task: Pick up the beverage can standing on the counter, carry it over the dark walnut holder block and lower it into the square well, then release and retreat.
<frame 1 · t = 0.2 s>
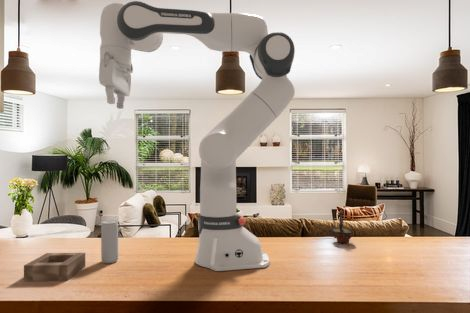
hand: (115, 106, 100), 47 cm above the kitchen island, fingers open, 8 cm apart
walnut holder: (56, 273, 91), on the kitchen island
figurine: (341, 243, 123), on the kitchen island
beverage can: (109, 262, 101), on the kitchen island
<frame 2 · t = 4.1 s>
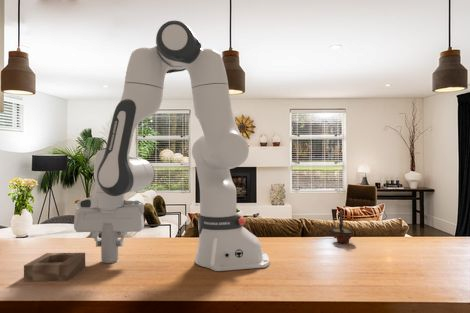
hand: (109, 246, 101), 5 cm above the kitchen island, fingers closed on beverage can, 5 cm apart
beverage can: (109, 262, 101), on the kitchen island, touching gripper
everything else where it was.
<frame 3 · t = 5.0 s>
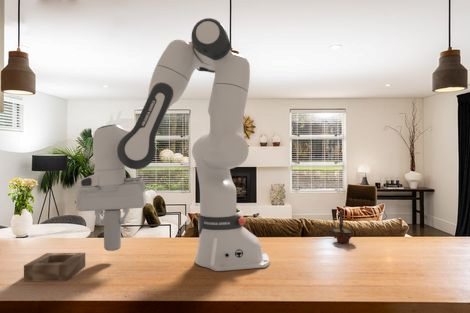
hand: (113, 224, 101), 11 cm above the kitchen island, fingers closed on beverage can, 5 cm apart
beverage can: (112, 249, 101), point 4 cm above the kitchen island, touching gripper
everything else where it was.
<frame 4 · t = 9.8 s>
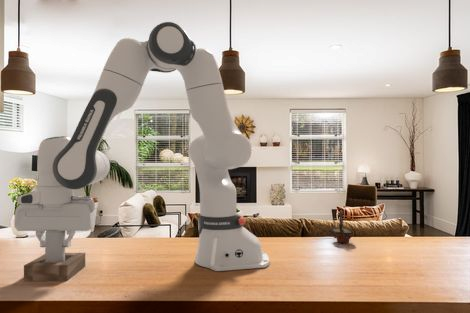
hand: (55, 246, 91), 7 cm above the kitchen island, fingers closed on beverage can, 5 cm apart
beverage can: (54, 274, 91), resting in walnut holder, touching gripper
everything else where it was.
when the fingers open (7 cm above the kitchen island, at t = 9.9 s): beverage can stays where it is, resting in walnut holder.
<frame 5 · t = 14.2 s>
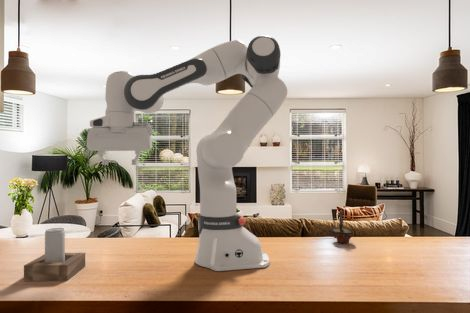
hand: (120, 165, 108), 29 cm above the kitchen island, fingers open, 8 cm apart
beverage can: (55, 274, 91), resting in walnut holder
everything else where it was.
at the end: beverage can 0.4 cm from the walnut holder (horizontally); beverage can tilted 0°; the gripper is holding nothing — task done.
